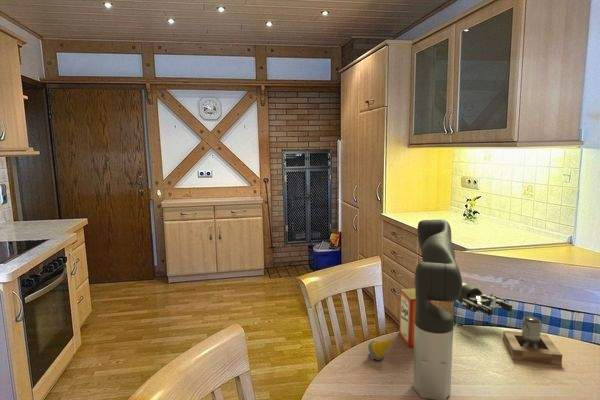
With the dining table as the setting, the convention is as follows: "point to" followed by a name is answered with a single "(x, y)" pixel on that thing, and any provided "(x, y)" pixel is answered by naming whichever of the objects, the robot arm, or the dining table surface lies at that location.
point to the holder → (532, 349)
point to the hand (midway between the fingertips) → (501, 310)
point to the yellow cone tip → (378, 349)
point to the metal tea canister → (531, 332)
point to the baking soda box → (407, 315)
